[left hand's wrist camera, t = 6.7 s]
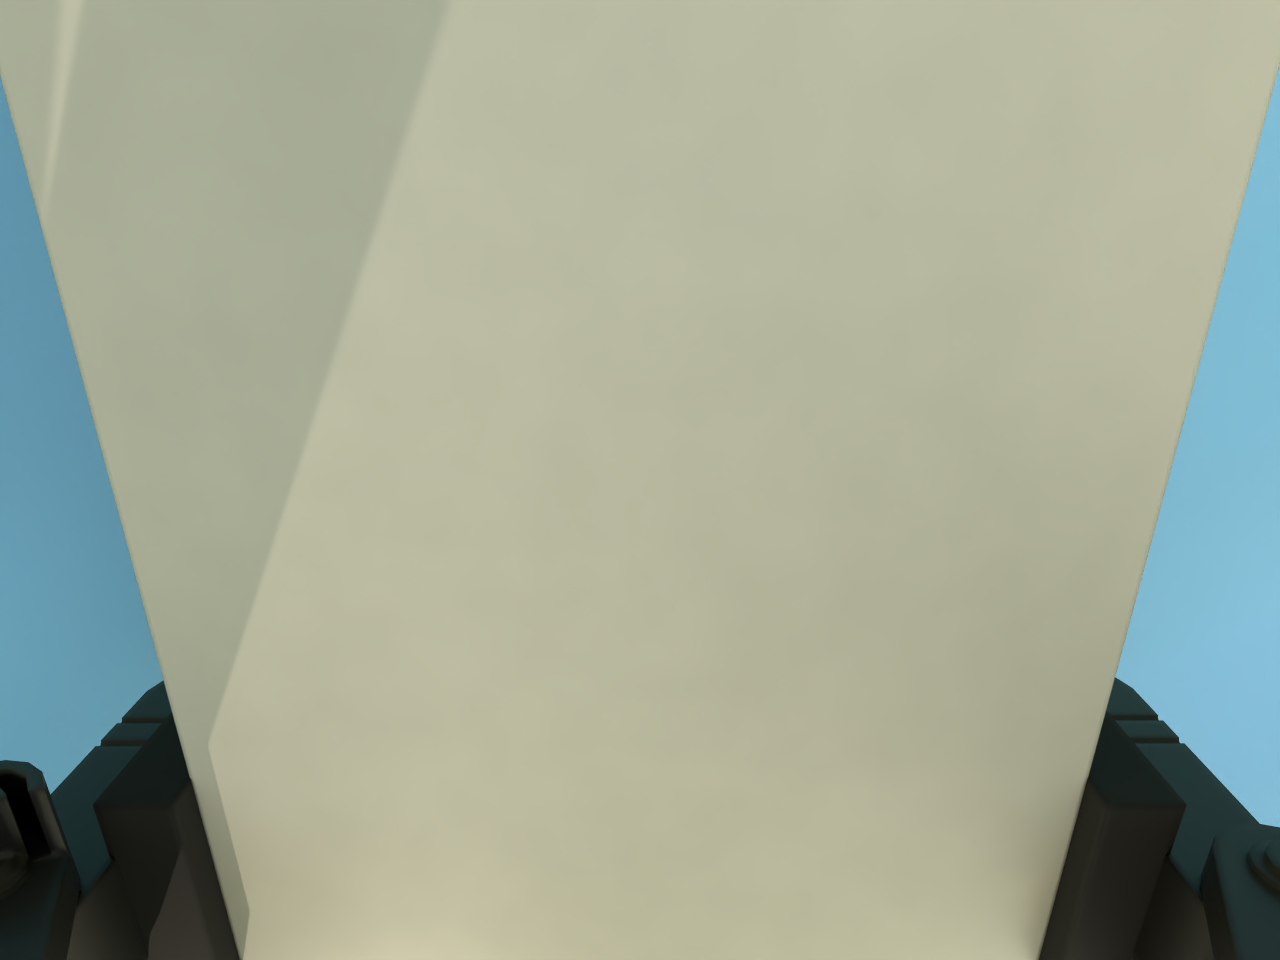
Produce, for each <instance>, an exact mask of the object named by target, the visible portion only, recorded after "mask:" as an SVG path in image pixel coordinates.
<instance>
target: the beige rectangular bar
mask: <svg viewBox="0 0 1280 960" xmlns="http://www.w3.org/2000/svg"><path fill="white" fill-rule="evenodd" d="M1279 65H1280V0H0V77H1V80H2V84H3V88H4V92H5V95H6V99H7V103H8V106H9V110H10V114H11V117H12V121H13V125H14V129H15V132H16V136H17V140H18V143H19V147H20V151H21V154H22V158H23V162H24V166H25V169H26V173H27V177H28V180H29V184H30V188H31V191H32V195H33V199H34V203H35V206H36V210H37V214H38V217H39V221H40V225H41V228H42V232H43V236H44V240H45V243H46V247H47V251H48V254H49V258H50V262H51V265H52V269H53V273H54V277H55V280H56V284H57V288H58V291H59V295H60V299H61V302H62V306H63V310H64V314H65V317H66V321H67V325H68V328H69V332H70V336H71V339H72V343H73V347H74V351H75V354H76V358H77V362H78V365H79V369H80V373H81V376H82V380H83V384H84V388H85V391H86V395H87V399H88V402H89V406H90V410H91V413H92V417H93V421H94V425H95V428H96V432H97V436H98V439H99V443H100V447H101V450H102V454H103V458H104V462H105V465H106V469H107V473H108V476H109V480H110V484H111V487H112V491H113V495H114V499H115V502H116V506H117V510H118V513H119V517H120V521H121V524H122V528H123V532H124V536H125V539H126V543H127V547H128V550H129V554H130V558H131V561H132V565H133V569H134V573H135V576H136V580H137V584H138V587H139V591H140V595H141V598H142V602H143V606H144V610H145V613H146V617H147V621H148V624H149V628H150V632H151V635H152V639H153V643H154V647H155V650H156V654H157V658H158V661H159V665H160V669H161V672H162V676H163V680H164V684H165V687H166V691H167V695H168V698H169V702H170V706H171V709H172V713H173V717H174V721H175V724H176V728H177V732H178V735H179V739H180V743H181V746H182V750H183V754H184V758H185V761H186V765H187V769H188V772H189V776H190V778H191V781H192V785H193V788H194V792H195V796H196V799H197V803H198V807H199V811H200V814H201V818H202V822H203V825H204V829H205V833H206V837H207V840H208V844H209V848H210V851H211V855H212V859H213V862H214V866H215V870H216V874H217V877H218V881H219V885H220V888H221V892H222V896H223V900H224V903H225V907H226V911H227V914H228V918H229V922H230V925H231V929H232V933H233V937H234V940H235V944H236V948H237V951H238V955H239V959H240V960H1039V957H1040V953H1041V949H1042V946H1043V942H1044V938H1045V935H1046V931H1047V927H1048V923H1049V920H1050V916H1051V912H1052V908H1053V905H1054V901H1055V897H1056V894H1057V890H1058V886H1059V882H1060V879H1061V875H1062V871H1063V867H1064V864H1065V860H1066V856H1067V853H1068V849H1069V845H1070V841H1071V838H1072V834H1073V830H1074V827H1075V823H1076V819H1077V815H1078V812H1079V808H1080V804H1081V800H1082V797H1083V793H1084V789H1085V786H1086V782H1087V778H1088V776H1089V772H1090V768H1091V764H1092V761H1093V757H1094V753H1095V750H1096V746H1097V742H1098V738H1099V735H1100V731H1101V727H1102V724H1103V720H1104V716H1105V712H1106V709H1107V705H1108V701H1109V697H1110V694H1111V690H1112V686H1113V683H1114V679H1115V675H1116V671H1117V668H1118V664H1119V660H1120V657H1121V653H1122V649H1123V645H1124V642H1125V638H1126V634H1127V631H1128V627H1129V623H1130V619H1131V616H1132V612H1133V608H1134V604H1135V601H1136V597H1137V593H1138V590H1139V586H1140V582H1141V578H1142V575H1143V571H1144V567H1145V564H1146V560H1147V556H1148V552H1149V549H1150V545H1151V541H1152V537H1153V534H1154V530H1155V526H1156V523H1157V519H1158V515H1159V511H1160V508H1161V504H1162V500H1163V497H1164V493H1165V489H1166V485H1167V482H1168V478H1169V474H1170V470H1171V467H1172V463H1173V459H1174V456H1175V452H1176V448H1177V444H1178V441H1179V437H1180V433H1181V430H1182V426H1183V422H1184V418H1185V415H1186V411H1187V407H1188V403H1189V400H1190V396H1191V392H1192V389H1193V385H1194V381H1195V377H1196V374H1197V370H1198V366H1199V363H1200V359H1201V355H1202V351H1203V348H1204V344H1205V340H1206V337H1207V333H1208V329H1209V325H1210V322H1211V318H1212V314H1213V310H1214V307H1215V303H1216V299H1217V296H1218V292H1219V288H1220V284H1221V281H1222V277H1223V273H1224V270H1225V266H1226V262H1227V258H1228V255H1229V251H1230V247H1231V243H1232V240H1233V236H1234V232H1235V229H1236V225H1237V221H1238V217H1239V214H1240V210H1241V206H1242V203H1243V199H1244V195H1245V191H1246V188H1247V184H1248V180H1249V176H1250V173H1251V169H1252V165H1253V162H1254V158H1255V154H1256V150H1257V147H1258V143H1259V139H1260V136H1261V132H1262V128H1263V124H1264V121H1265V117H1266V113H1267V109H1268V106H1269V102H1270V98H1271V95H1272V91H1273V87H1274V83H1275V80H1276V76H1277V72H1278V69H1279Z"/></svg>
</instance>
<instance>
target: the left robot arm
mask: <svg viewBox="0 0 1280 960" xmlns="http://www.w3.org/2000/svg"><path fill="white" fill-rule="evenodd" d="M0 960H240V959H239V955H238V951H237V948H236V944H235V940H234V937H233V933H232V929H231V925H230V922H229V918H228V914H227V911H226V907H225V903H224V900H223V896H222V892H221V888H220V885H219V881H218V877H217V874H216V870H215V866H214V862H213V859H212V855H211V851H210V848H209V844H208V840H207V837H206V833H205V829H204V825H203V822H202V818H201V814H200V811H199V807H198V803H197V799H196V796H195V792H194V788H193V785H192V781H191V778H190V776H189V772H188V769H187V765H186V761H185V758H184V754H183V750H182V746H181V743H180V739H179V735H178V732H177V728H176V724H175V721H174V717H173V713H172V709H171V706H170V702H169V698H168V695H167V691H166V687H165V684H164V681H162V682H161V683H159V684H157V685H156V686H154V687H153V688H151V689H150V690H148V691H147V692H146V693H145V694H144V695H143V696H142V697H141V698H140V699H139V700H138V701H137V703H136V704H135V705H134V706H133V707H132V708H131V709H130V710H129V711H128V712H127V713H126V714H125V715H124V716H123V718H122V723H117V724H116V725H115V726H114V727H113V728H112V729H111V730H110V731H109V733H108V734H107V735H106V736H105V737H104V738H103V739H102V740H101V745H100V746H95V748H94V749H93V750H92V751H91V752H90V753H89V754H88V755H87V756H86V757H85V758H84V759H83V760H82V762H81V763H80V764H79V765H78V766H77V767H76V768H75V769H74V770H73V771H72V772H71V773H70V774H69V775H68V777H67V778H66V779H65V780H64V781H63V782H62V783H61V784H60V785H59V786H58V787H57V788H56V789H55V790H54V792H53V793H52V794H51V795H50V793H49V790H48V787H47V784H46V782H45V779H44V776H43V773H42V771H40V770H39V769H37V768H36V767H34V766H33V765H32V764H30V763H29V762H19V761H9V760H3V761H0ZM1039 960H1280V827H1274V826H1268V825H1263V824H1259V822H1258V821H1257V820H1256V819H1255V818H1254V817H1253V816H1252V815H1251V814H1250V813H1249V812H1248V811H1247V810H1246V809H1245V808H1244V807H1243V805H1242V804H1241V803H1240V802H1239V801H1238V800H1237V799H1236V798H1235V797H1234V796H1233V795H1232V794H1231V793H1230V792H1229V791H1228V789H1227V788H1226V787H1225V786H1224V785H1223V784H1222V783H1221V782H1220V781H1219V780H1218V779H1217V778H1216V777H1215V776H1214V775H1213V773H1212V772H1211V771H1210V770H1209V769H1208V768H1207V767H1206V766H1205V765H1204V764H1203V763H1202V762H1201V761H1200V760H1199V759H1198V757H1197V756H1196V755H1195V754H1194V753H1193V752H1192V751H1191V750H1190V749H1189V748H1188V747H1187V746H1186V745H1185V744H1184V743H1180V742H1179V737H1178V736H1177V735H1176V734H1175V733H1174V732H1173V731H1172V730H1171V729H1170V728H1169V727H1168V725H1167V724H1166V723H1165V722H1164V721H1159V720H1158V715H1157V714H1156V713H1155V712H1154V711H1153V709H1152V708H1151V707H1150V706H1149V705H1148V704H1147V703H1146V702H1145V701H1144V700H1143V699H1142V698H1141V697H1140V696H1139V695H1138V694H1137V692H1136V691H1135V690H1134V689H1133V688H1131V687H1130V686H1128V685H1127V684H1125V683H1123V682H1122V681H1120V680H1119V679H1117V678H1115V679H1114V683H1113V686H1112V690H1111V694H1110V697H1109V701H1108V705H1107V709H1106V712H1105V716H1104V720H1103V724H1102V727H1101V731H1100V735H1099V738H1098V742H1097V746H1096V750H1095V753H1094V757H1093V761H1092V764H1091V768H1090V772H1089V776H1088V778H1087V782H1086V786H1085V789H1084V793H1083V797H1082V800H1081V804H1080V808H1079V812H1078V815H1077V819H1076V823H1075V827H1074V830H1073V834H1072V838H1071V841H1070V845H1069V849H1068V853H1067V856H1066V860H1065V864H1064V867H1063V871H1062V875H1061V879H1060V882H1059V886H1058V890H1057V894H1056V897H1055V901H1054V905H1053V908H1052V912H1051V916H1050V920H1049V923H1048V927H1047V931H1046V935H1045V938H1044V942H1043V946H1042V949H1041V953H1040V957H1039Z"/></svg>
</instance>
